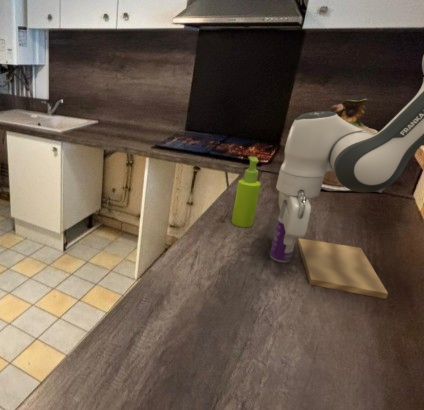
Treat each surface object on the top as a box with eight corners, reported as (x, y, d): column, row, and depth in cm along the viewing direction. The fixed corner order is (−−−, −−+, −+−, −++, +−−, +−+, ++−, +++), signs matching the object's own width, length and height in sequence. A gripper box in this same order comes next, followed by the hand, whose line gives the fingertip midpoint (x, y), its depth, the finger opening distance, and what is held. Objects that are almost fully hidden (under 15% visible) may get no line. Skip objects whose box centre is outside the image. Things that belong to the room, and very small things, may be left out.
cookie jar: (347, 172, 151) (371, 94, 138) (386, 194, 128) (419, 102, 116) (286, 171, 153) (304, 93, 140) (313, 192, 131) (338, 101, 118)
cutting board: (359, 252, 92) (360, 247, 91) (385, 299, 75) (388, 293, 74) (297, 242, 97) (298, 238, 96) (309, 284, 80) (311, 278, 79)
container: (265, 254, 91) (277, 200, 85) (279, 251, 93) (292, 197, 87) (280, 264, 87) (294, 208, 81) (294, 260, 89) (309, 205, 83)
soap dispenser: (250, 218, 111) (263, 155, 103) (253, 228, 104) (267, 162, 96) (230, 216, 112) (241, 154, 104) (232, 226, 106) (244, 161, 98)
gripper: (323, 202, 72) (306, 260, 78) (307, 172, 89) (294, 222, 95) (288, 198, 74) (274, 255, 80) (279, 169, 92) (268, 218, 97)
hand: (285, 236), depth 87 cm, fingers open, 6 cm apart
